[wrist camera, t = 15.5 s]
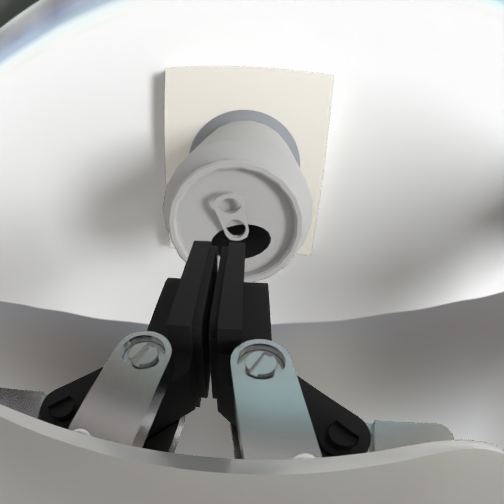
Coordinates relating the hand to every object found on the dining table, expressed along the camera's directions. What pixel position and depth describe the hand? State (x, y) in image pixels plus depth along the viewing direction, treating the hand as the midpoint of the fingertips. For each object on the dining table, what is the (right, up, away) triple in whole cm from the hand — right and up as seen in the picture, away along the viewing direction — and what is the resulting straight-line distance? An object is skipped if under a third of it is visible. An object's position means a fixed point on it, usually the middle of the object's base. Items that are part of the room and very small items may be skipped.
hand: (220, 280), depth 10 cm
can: (0, +8, +14) cm, 16 cm away
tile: (0, +9, +15) cm, 18 cm away
